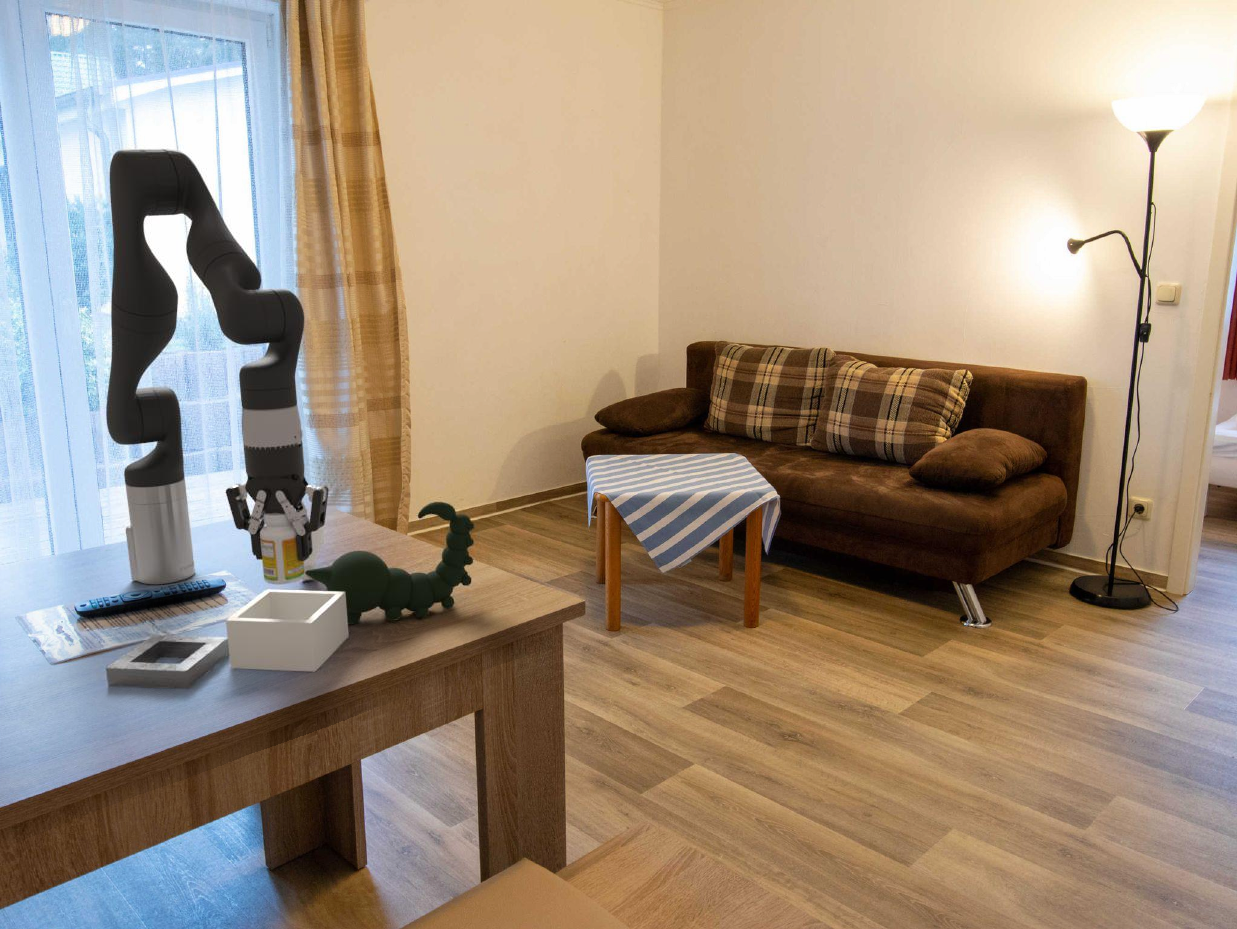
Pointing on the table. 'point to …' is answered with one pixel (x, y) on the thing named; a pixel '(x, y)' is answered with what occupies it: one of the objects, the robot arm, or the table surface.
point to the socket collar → (146, 673)
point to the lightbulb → (314, 551)
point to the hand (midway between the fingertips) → (283, 558)
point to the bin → (287, 630)
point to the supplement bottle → (280, 550)
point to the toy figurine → (402, 574)
